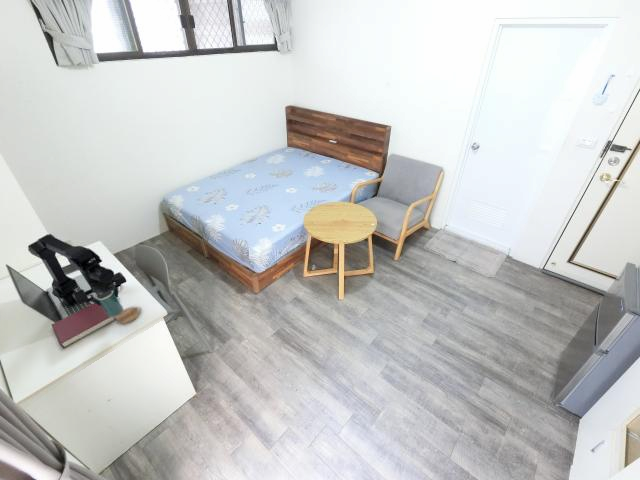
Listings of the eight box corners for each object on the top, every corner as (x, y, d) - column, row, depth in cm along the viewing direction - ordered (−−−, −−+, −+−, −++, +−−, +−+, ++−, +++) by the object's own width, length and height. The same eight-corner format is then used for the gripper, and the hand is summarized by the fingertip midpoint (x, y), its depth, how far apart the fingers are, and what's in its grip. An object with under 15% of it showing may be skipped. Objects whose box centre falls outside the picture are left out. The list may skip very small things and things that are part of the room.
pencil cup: (95, 296, 138) (92, 292, 128) (111, 288, 142) (109, 284, 132) (110, 320, 139) (108, 318, 128) (126, 312, 143) (125, 309, 132)
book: (54, 328, 138) (51, 324, 136) (105, 302, 150) (102, 298, 148) (63, 348, 130) (59, 344, 128) (115, 319, 142) (113, 315, 140)
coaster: (113, 320, 142) (113, 319, 141) (128, 306, 148) (128, 305, 148) (128, 325, 139) (128, 324, 139) (143, 310, 146) (143, 309, 146)
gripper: (71, 297, 115) (90, 323, 125) (123, 272, 126) (137, 298, 135) (64, 283, 122) (83, 309, 131) (114, 261, 132) (128, 286, 142)
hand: (108, 301), depth 134 cm, fingers closed on pencil cup, 6 cm apart
